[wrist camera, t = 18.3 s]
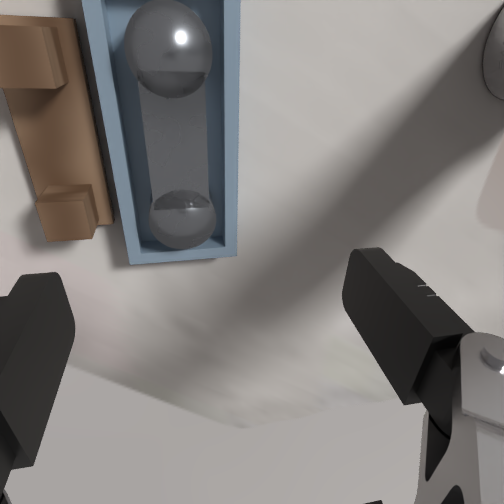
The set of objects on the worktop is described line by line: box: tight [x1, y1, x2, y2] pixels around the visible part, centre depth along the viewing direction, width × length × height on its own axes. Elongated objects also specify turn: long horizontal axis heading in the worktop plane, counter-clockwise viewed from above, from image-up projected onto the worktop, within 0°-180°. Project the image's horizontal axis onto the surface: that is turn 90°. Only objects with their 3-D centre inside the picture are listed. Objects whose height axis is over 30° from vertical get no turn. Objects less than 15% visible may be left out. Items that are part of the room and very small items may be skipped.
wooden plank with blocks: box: [0, 15, 115, 242], centre depth 23 cm, size 5×14×4 cm, turn 178°
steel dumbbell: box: [124, 0, 216, 249], centre depth 24 cm, size 5×16×4 cm, turn 178°
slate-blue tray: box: [82, 0, 240, 265], centre depth 25 cm, size 9×20×2 cm, turn 178°
